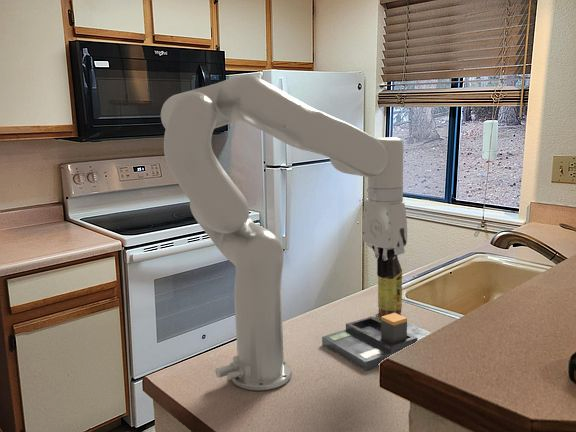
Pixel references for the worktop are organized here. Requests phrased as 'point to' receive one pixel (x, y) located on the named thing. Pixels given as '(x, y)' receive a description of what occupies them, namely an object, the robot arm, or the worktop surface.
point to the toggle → (393, 328)
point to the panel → (368, 342)
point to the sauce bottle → (390, 291)
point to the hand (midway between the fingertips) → (385, 275)
